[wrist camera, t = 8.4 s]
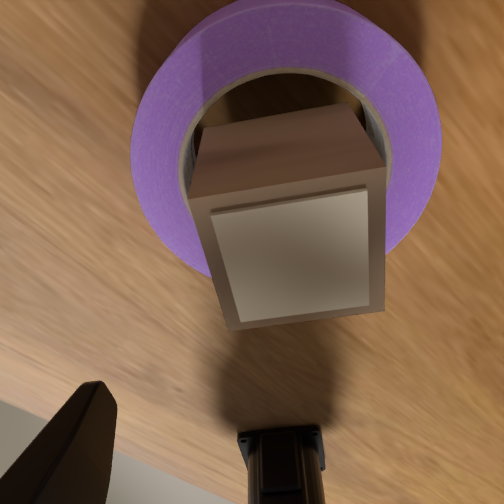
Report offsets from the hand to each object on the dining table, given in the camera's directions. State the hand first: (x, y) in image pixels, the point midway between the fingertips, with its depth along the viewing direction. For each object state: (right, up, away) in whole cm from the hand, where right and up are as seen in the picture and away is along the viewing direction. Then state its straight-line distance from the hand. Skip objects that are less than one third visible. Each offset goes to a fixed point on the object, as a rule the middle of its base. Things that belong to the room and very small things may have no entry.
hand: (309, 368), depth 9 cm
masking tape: (0, +8, +10) cm, 13 cm away
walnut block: (0, +5, +7) cm, 9 cm away
